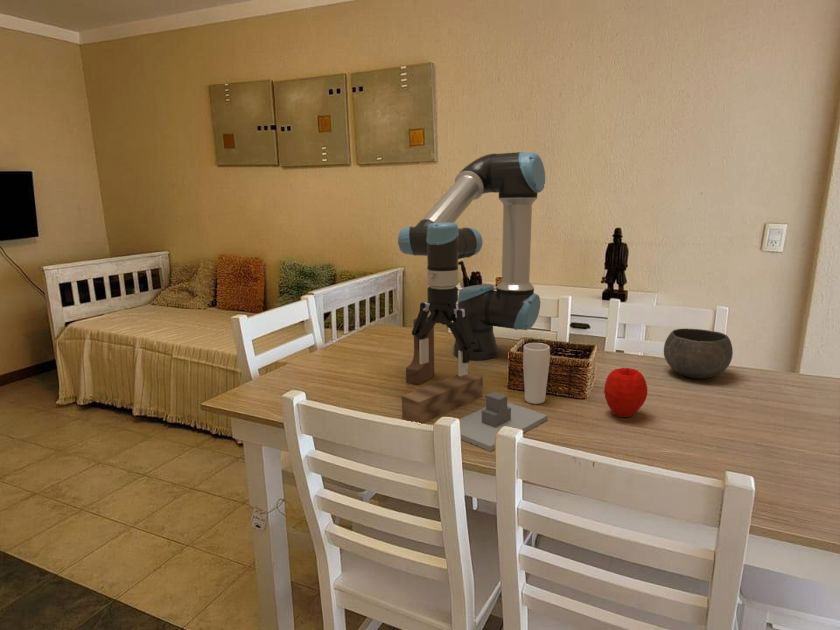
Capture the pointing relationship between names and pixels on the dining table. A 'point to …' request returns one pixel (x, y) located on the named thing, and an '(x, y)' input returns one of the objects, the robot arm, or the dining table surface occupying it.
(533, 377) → the drinking glass
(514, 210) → the robot arm
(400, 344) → the dining table surface
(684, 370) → the bowl
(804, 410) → the dining table surface
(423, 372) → the wooden block
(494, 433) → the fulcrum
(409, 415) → the beam
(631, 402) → the apple
